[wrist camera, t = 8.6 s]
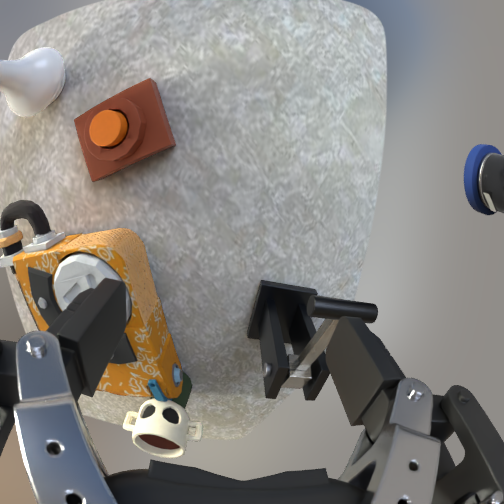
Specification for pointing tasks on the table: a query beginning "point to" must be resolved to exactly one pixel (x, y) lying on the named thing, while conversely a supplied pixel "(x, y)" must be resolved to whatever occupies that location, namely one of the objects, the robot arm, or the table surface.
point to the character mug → (164, 425)
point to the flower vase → (32, 81)
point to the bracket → (284, 335)
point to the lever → (323, 334)
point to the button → (108, 128)
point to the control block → (138, 133)
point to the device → (89, 276)
